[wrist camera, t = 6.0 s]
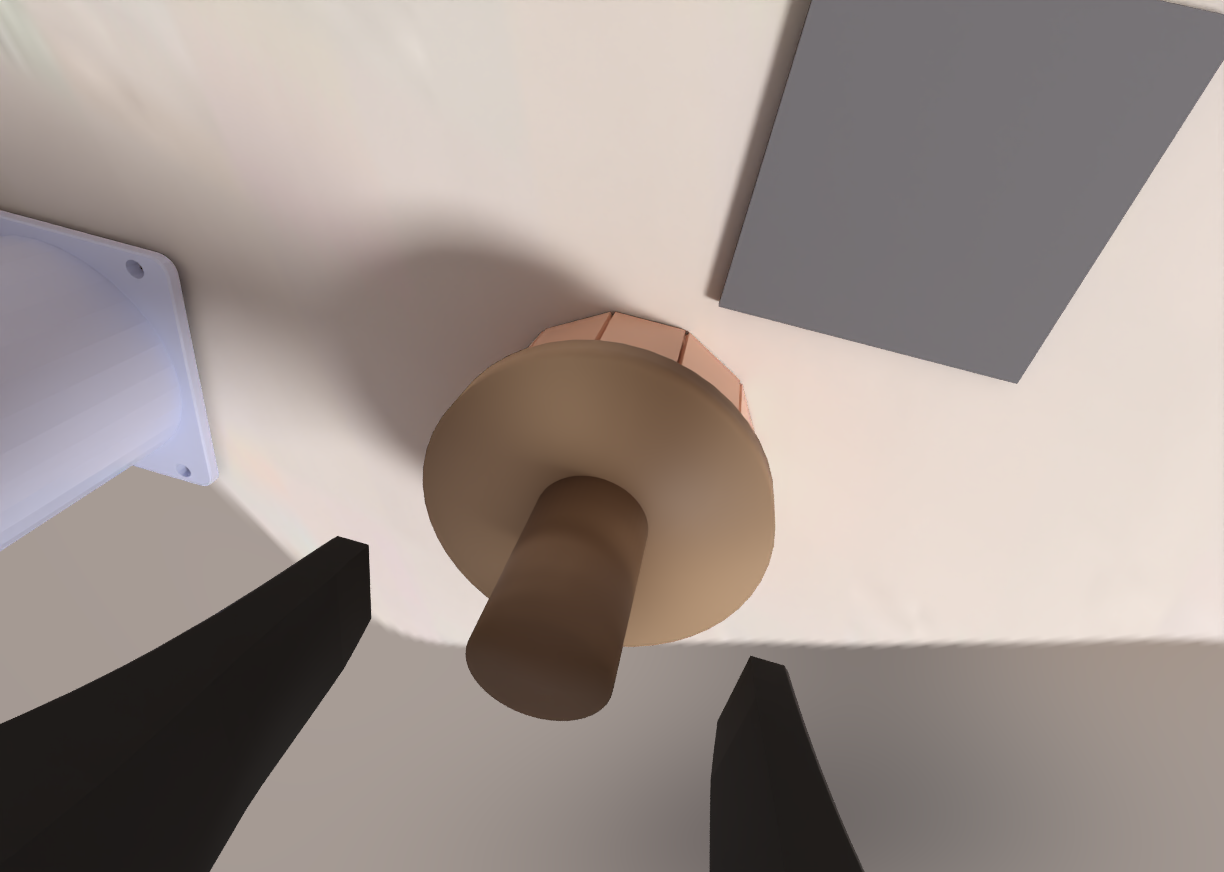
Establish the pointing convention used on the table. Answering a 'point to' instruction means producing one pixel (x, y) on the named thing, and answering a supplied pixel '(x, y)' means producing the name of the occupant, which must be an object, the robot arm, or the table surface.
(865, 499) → the table surface
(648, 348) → the bowl
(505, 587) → the lid
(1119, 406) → the table surface
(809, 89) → the mat
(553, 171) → the table surface
